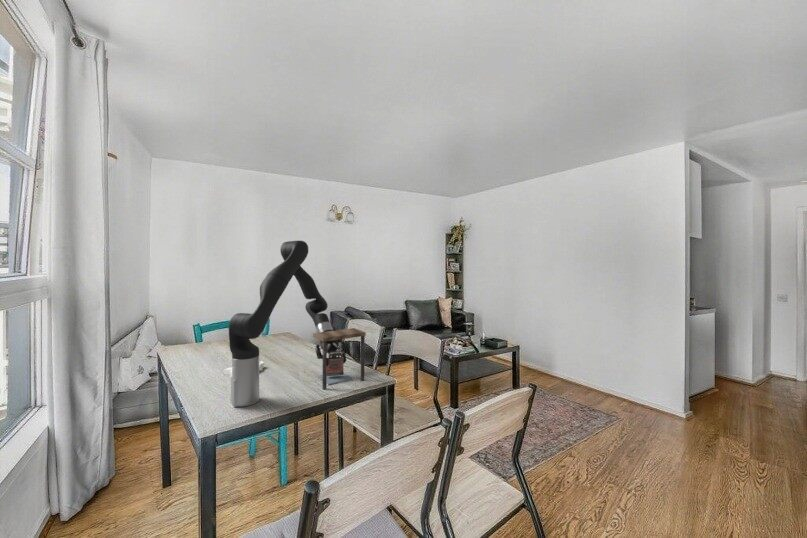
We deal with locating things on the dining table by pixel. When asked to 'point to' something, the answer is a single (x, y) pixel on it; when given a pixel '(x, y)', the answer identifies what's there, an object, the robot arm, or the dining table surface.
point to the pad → (336, 378)
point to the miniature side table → (336, 336)
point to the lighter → (335, 364)
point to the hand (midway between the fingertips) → (336, 363)
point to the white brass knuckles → (229, 370)
